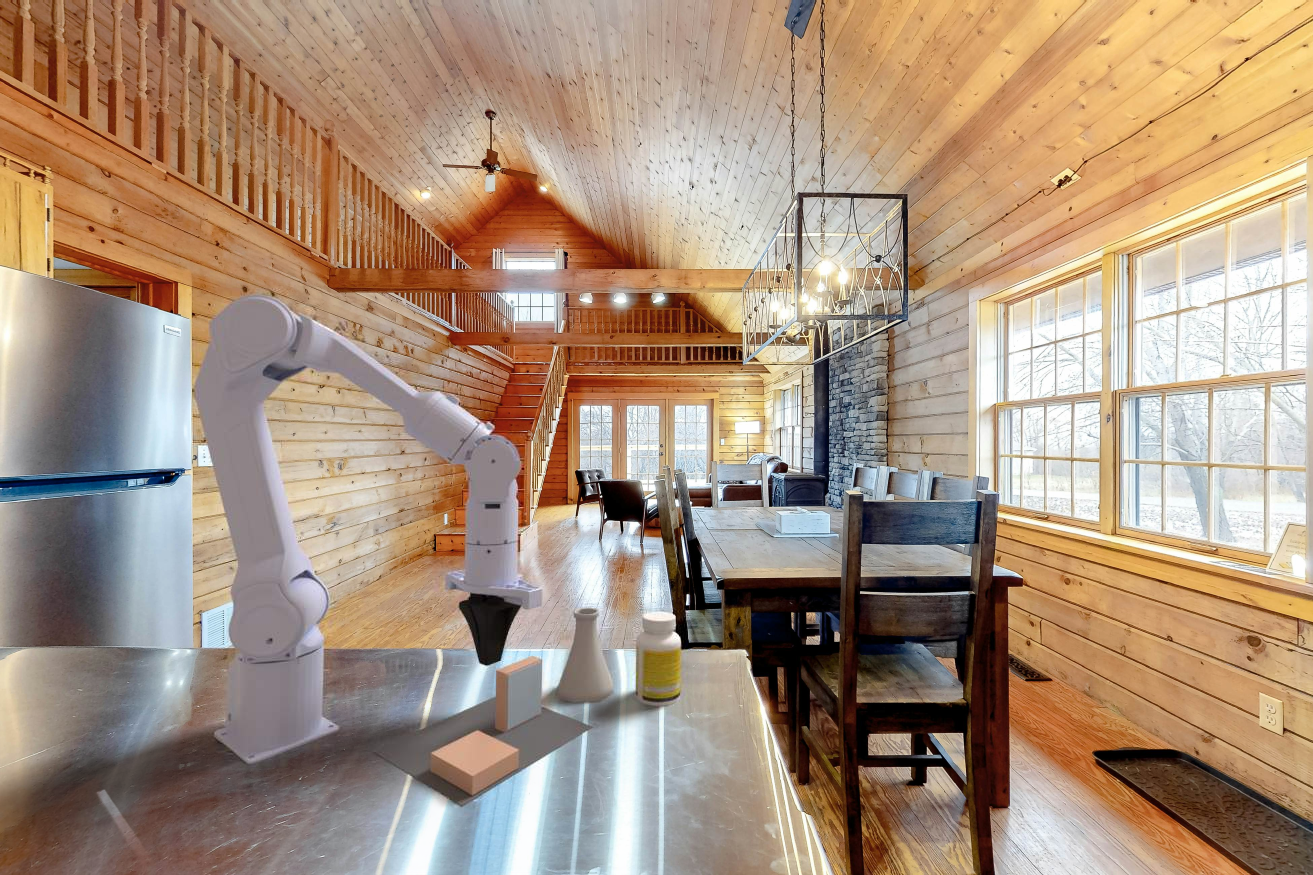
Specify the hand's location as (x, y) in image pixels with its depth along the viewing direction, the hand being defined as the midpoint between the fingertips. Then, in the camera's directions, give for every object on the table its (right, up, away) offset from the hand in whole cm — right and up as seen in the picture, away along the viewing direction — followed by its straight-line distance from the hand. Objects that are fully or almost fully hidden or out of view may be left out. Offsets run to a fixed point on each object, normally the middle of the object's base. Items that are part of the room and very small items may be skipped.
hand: (490, 661), depth 62 cm
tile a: (0, -4, -10) cm, 11 cm away
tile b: (+4, -5, -3) cm, 7 cm away
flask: (+10, -6, +5) cm, 13 cm away
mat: (+2, -5, -7) cm, 9 cm away
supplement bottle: (+19, -6, +4) cm, 20 cm away
